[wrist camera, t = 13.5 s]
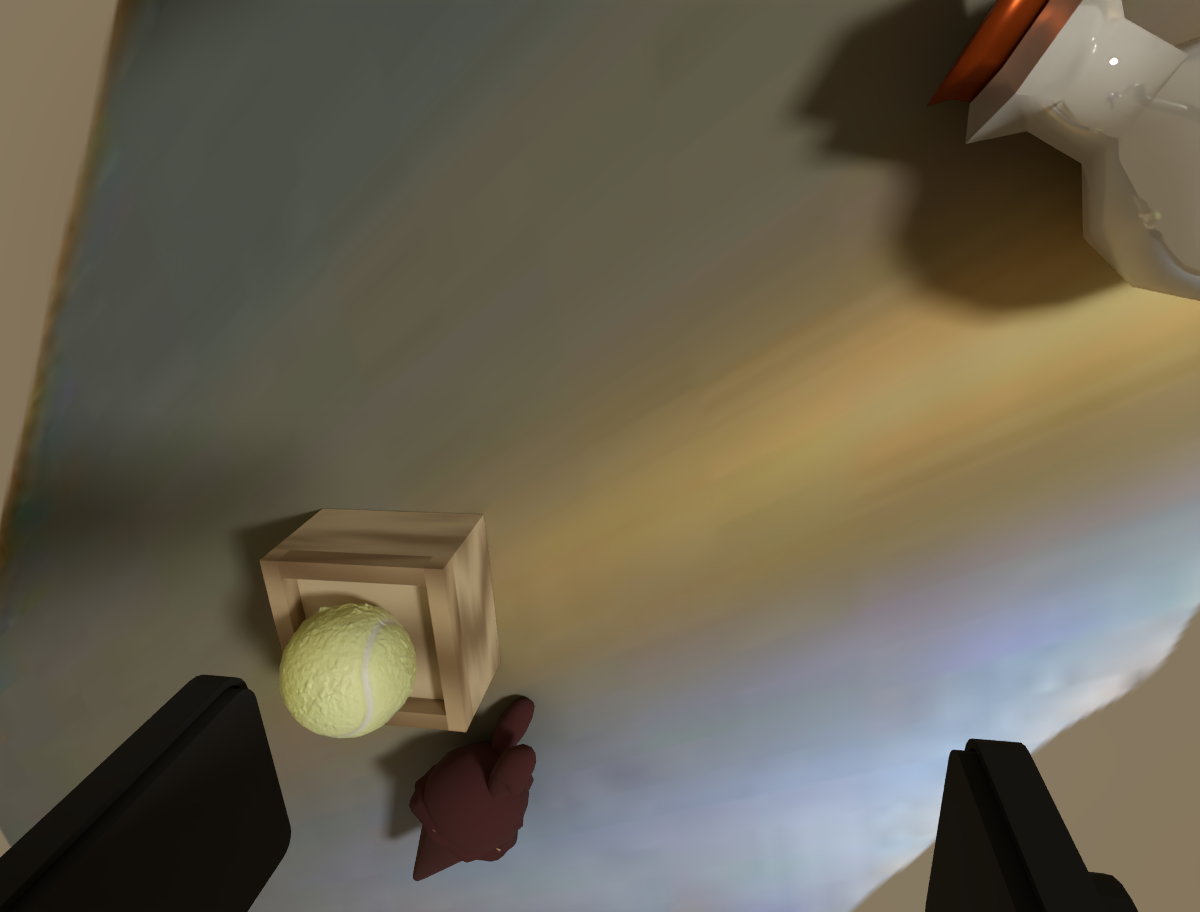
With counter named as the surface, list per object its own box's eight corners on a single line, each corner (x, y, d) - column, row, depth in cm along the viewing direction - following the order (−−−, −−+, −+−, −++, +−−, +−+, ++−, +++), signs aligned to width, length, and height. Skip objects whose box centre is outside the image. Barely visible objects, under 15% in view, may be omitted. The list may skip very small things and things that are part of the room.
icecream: (462, 947, 46) (588, 795, 41) (351, 915, 44) (470, 750, 39) (470, 847, 52) (580, 705, 47) (373, 815, 50) (479, 662, 45)
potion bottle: (1236, 260, 32) (937, 83, 33) (1534, 49, 23) (1118, -178, 24) (1220, 401, 27) (872, 189, 28) (1585, 201, 19) (1069, -89, 20)
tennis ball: (274, 773, 35) (394, 760, 33) (226, 648, 34) (347, 626, 32) (348, 701, 41) (452, 686, 39) (309, 592, 40) (414, 571, 38)
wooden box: (322, 508, 43) (259, 560, 38) (483, 514, 41) (442, 569, 36) (351, 650, 47) (297, 716, 41) (500, 660, 45) (466, 732, 39)
